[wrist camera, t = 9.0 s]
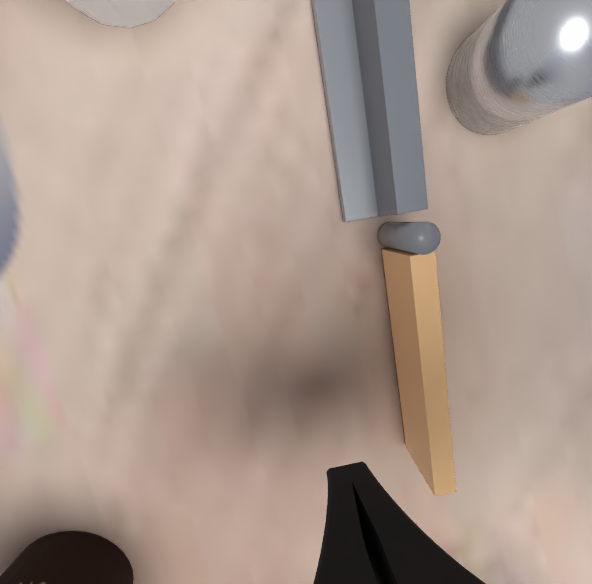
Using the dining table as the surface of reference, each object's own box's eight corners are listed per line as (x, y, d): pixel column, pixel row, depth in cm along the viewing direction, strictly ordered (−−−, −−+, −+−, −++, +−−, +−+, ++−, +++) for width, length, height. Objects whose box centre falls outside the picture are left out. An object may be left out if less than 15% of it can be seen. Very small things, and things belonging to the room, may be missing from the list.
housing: (671, -201, 13) (786, -324, 10) (652, 164, 16) (737, 151, 13) (290, -144, 13) (295, -255, 10) (343, 221, 16) (359, 221, 13)
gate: (376, 224, 16) (407, 225, 12) (401, 220, 16) (439, 219, 12) (404, 447, 18) (435, 502, 15) (425, 443, 18) (462, 496, 15)
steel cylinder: (540, 19, 14) (676, -87, 10) (541, 126, 15) (666, 80, 10) (442, 34, 14) (529, -64, 9) (449, 142, 15) (531, 102, 10)
